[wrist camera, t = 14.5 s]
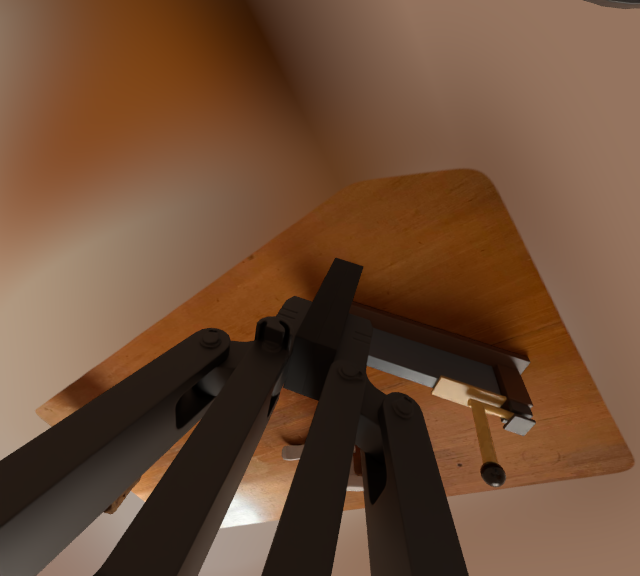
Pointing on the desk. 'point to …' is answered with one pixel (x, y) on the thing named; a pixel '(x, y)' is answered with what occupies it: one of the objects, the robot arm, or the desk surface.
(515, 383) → the sliding lever mechanism
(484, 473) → the bolt
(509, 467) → the desk surface
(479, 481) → the desk surface
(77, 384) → the desk surface
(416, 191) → the desk surface
